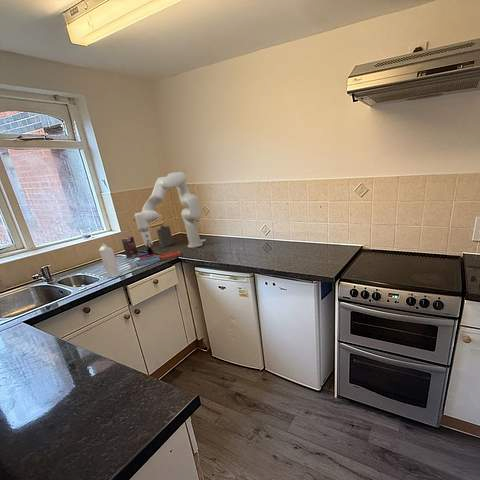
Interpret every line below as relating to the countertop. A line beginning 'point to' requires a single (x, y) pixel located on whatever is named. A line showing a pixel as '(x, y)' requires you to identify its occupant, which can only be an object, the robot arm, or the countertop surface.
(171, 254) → the terracotta tray
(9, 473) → the countertop surface
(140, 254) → the blue spoon
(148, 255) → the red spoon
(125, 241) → the supplement box
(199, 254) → the countertop surface
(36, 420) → the countertop surface
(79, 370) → the countertop surface
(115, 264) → the milk
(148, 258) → the pale blue tray
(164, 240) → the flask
